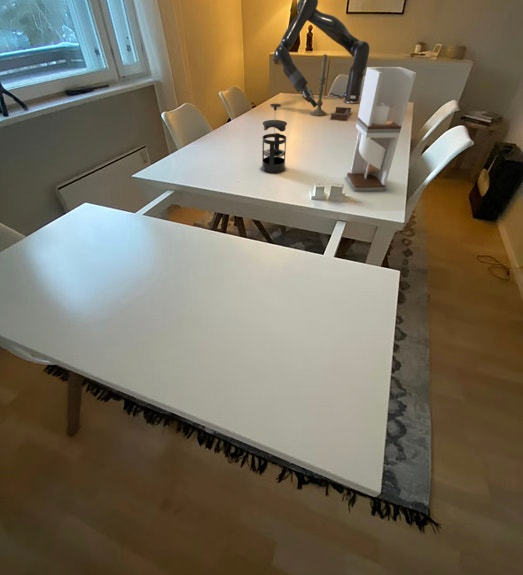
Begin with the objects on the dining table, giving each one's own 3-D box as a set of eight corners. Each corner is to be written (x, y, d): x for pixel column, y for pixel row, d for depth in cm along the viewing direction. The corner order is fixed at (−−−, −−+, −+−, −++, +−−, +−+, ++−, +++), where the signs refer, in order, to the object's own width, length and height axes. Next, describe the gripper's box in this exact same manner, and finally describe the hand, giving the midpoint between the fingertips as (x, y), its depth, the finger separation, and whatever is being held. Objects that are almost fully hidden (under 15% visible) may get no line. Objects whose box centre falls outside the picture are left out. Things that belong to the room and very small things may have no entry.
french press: (282, 174, 123) (286, 108, 108) (259, 172, 124) (259, 106, 109) (287, 164, 132) (291, 100, 116) (265, 162, 133) (266, 99, 118)
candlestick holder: (328, 113, 194) (336, 52, 174) (321, 117, 188) (329, 54, 168) (315, 111, 198) (321, 51, 178) (308, 114, 192) (313, 53, 172)
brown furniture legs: (330, 119, 184) (331, 113, 182) (335, 112, 197) (336, 106, 195) (346, 120, 182) (347, 115, 180) (350, 113, 195) (351, 107, 193)
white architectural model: (346, 178, 121) (367, 67, 98) (373, 177, 121) (400, 67, 98) (354, 191, 112) (379, 72, 89) (384, 190, 113) (416, 72, 90)
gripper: (296, 83, 193) (313, 108, 198) (290, 87, 183) (308, 113, 188) (305, 74, 188) (323, 99, 193) (299, 77, 179) (318, 104, 184)
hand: (315, 106), depth 191 cm, fingers closed
